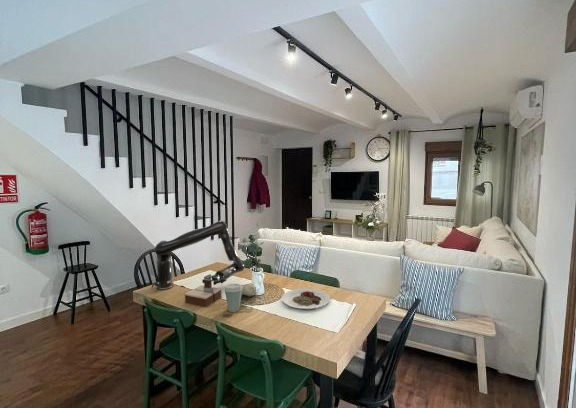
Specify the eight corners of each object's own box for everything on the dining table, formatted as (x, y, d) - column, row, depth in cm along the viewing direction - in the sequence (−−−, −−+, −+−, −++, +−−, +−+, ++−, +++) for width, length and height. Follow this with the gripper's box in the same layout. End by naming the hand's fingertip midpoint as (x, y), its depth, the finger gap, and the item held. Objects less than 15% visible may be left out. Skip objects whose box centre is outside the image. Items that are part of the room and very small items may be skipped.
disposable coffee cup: (222, 308, 186) (221, 284, 185) (239, 304, 192) (238, 280, 190) (228, 315, 177) (227, 289, 176) (246, 310, 183) (245, 286, 181)
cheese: (240, 303, 198) (258, 288, 196) (234, 293, 201) (252, 279, 199) (250, 301, 213) (267, 287, 211) (245, 291, 215) (261, 278, 213)
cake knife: (203, 300, 198) (202, 279, 196) (205, 299, 200) (204, 278, 198) (212, 302, 195) (211, 280, 194) (214, 301, 197) (213, 279, 196)
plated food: (288, 314, 178) (287, 308, 177) (277, 294, 207) (277, 289, 206) (337, 307, 184) (337, 302, 184) (320, 289, 213) (320, 284, 213)
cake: (185, 302, 195) (184, 293, 195) (201, 293, 209) (201, 285, 209) (205, 307, 189) (205, 297, 188) (221, 297, 203) (220, 288, 202)
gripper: (214, 267, 214) (198, 275, 199) (232, 270, 208) (217, 278, 193) (215, 278, 215) (199, 286, 200) (232, 281, 209) (217, 289, 194)
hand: (208, 282), depth 197 cm, fingers open, 8 cm apart
